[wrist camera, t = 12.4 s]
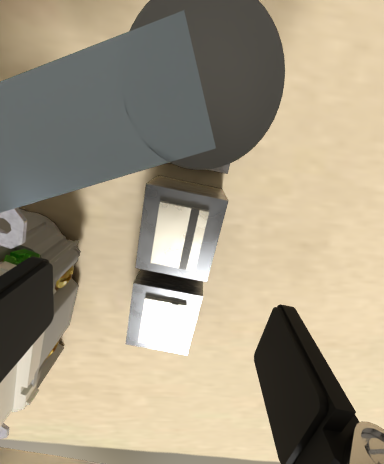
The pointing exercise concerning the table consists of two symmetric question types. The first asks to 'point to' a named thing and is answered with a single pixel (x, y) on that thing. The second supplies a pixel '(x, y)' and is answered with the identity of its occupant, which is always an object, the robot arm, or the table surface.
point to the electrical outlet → (64, 292)
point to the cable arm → (143, 100)
